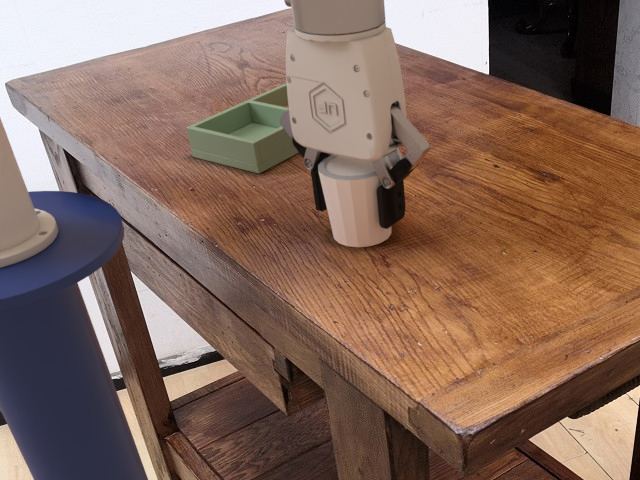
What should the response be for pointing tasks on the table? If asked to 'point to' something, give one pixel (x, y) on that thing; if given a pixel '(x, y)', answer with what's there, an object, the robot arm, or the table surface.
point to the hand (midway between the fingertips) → (360, 212)
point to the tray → (245, 134)
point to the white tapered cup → (352, 200)
